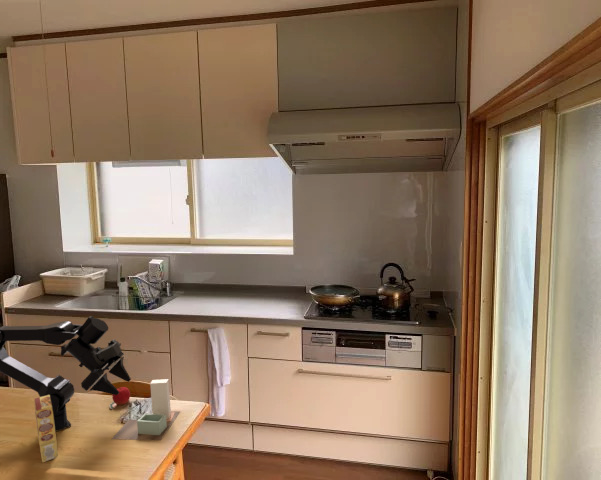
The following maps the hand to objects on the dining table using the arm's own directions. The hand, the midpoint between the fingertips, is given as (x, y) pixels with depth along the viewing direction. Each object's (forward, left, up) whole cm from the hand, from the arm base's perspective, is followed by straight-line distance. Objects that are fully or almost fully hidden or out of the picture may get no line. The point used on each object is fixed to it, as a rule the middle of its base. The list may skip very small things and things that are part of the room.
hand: (124, 387), depth 140 cm
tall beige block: (+6, +9, -11) cm, 16 cm away
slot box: (+11, +3, -11) cm, 16 cm away
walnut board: (+7, +4, -12) cm, 15 cm away
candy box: (-1, -22, -13) cm, 25 cm away
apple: (-14, +4, -13) cm, 19 cm away
